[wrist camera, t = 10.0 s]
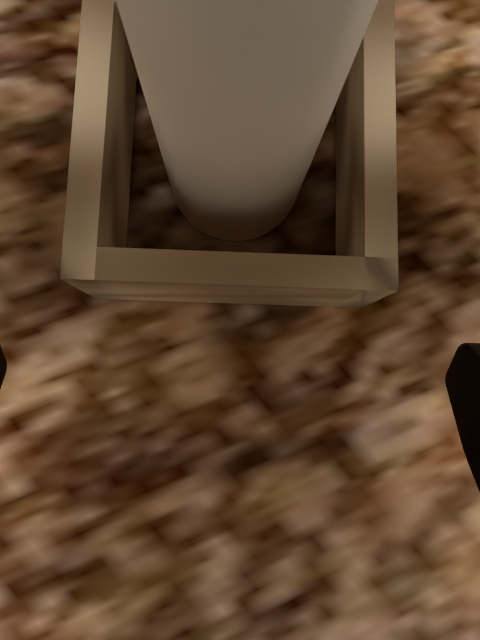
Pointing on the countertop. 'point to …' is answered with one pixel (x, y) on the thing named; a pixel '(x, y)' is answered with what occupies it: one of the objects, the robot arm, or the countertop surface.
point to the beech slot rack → (218, 266)
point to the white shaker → (241, 98)
